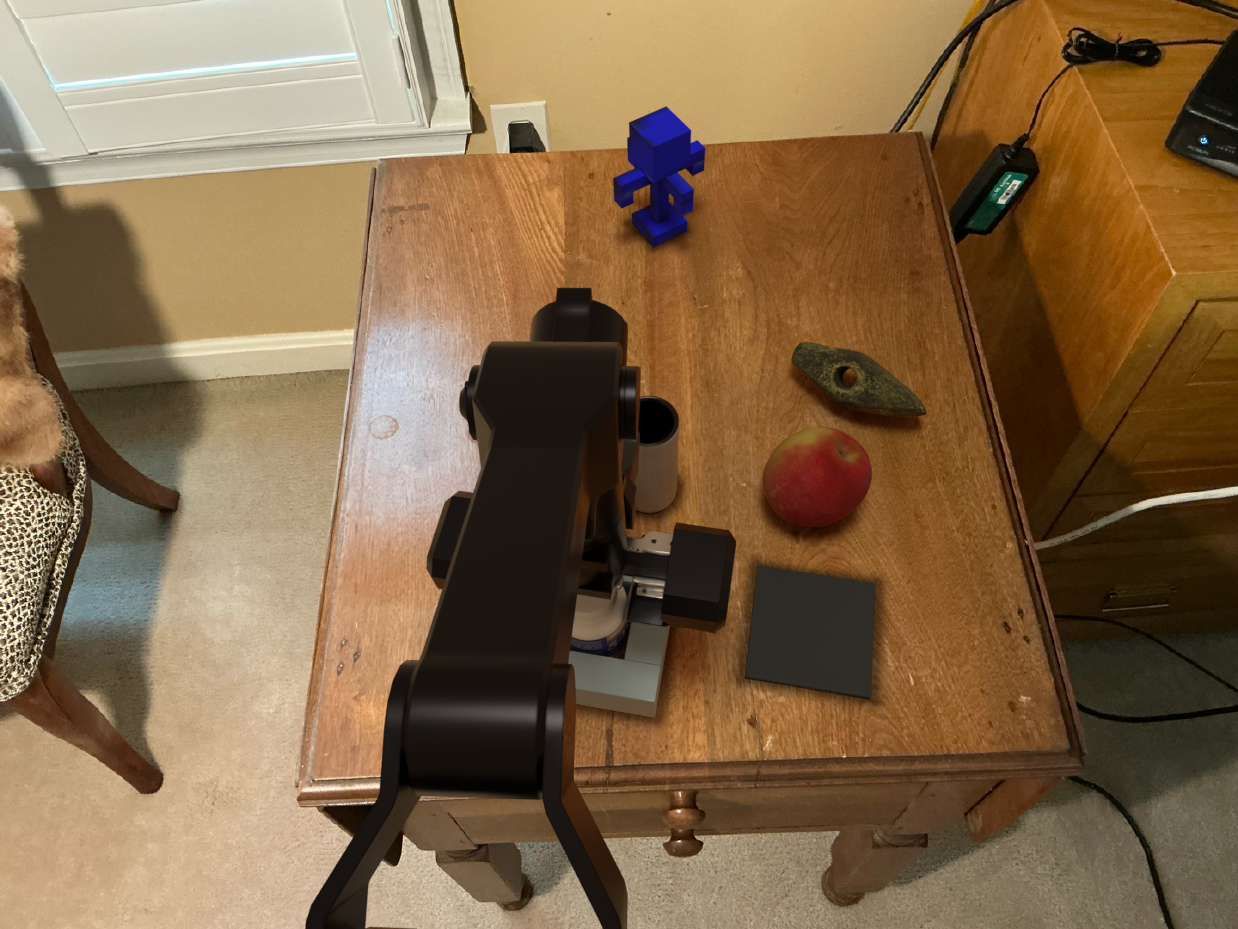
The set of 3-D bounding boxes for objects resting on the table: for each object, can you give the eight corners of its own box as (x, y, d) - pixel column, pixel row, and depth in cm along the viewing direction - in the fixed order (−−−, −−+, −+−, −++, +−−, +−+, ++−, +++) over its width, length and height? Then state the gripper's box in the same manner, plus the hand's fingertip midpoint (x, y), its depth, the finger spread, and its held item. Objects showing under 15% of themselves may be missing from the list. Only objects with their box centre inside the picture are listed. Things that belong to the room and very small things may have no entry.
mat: (869, 699, 63) (870, 697, 63) (744, 678, 64) (745, 676, 64) (874, 584, 68) (875, 582, 68) (757, 567, 69) (757, 565, 69)
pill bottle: (622, 673, 65) (618, 630, 57) (553, 661, 66) (539, 617, 58) (635, 606, 68) (632, 557, 60) (568, 596, 68) (557, 546, 61)
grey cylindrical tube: (670, 518, 71) (672, 451, 63) (616, 508, 72) (610, 440, 63) (681, 471, 74) (684, 400, 65) (628, 461, 74) (625, 390, 66)
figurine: (703, 206, 90) (709, 104, 80) (689, 260, 86) (693, 160, 76) (631, 196, 91) (628, 94, 81) (613, 248, 87) (608, 148, 77)
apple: (850, 555, 69) (871, 506, 62) (749, 528, 71) (759, 478, 64) (866, 475, 73) (888, 421, 66) (770, 451, 74) (781, 396, 68)
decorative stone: (790, 432, 75) (799, 398, 71) (787, 361, 79) (794, 325, 75) (922, 435, 75) (938, 401, 70) (911, 363, 79) (926, 327, 74)
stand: (654, 718, 63) (654, 702, 60) (506, 692, 65) (498, 675, 61) (677, 578, 69) (678, 556, 65) (540, 557, 70) (534, 534, 67)
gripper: (755, 407, 52) (735, 527, 65) (452, 368, 54) (492, 492, 68) (733, 579, 46) (716, 672, 60) (396, 527, 49) (452, 628, 62)
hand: (591, 609), depth 62 cm, fingers closed on pill bottle, 5 cm apart
